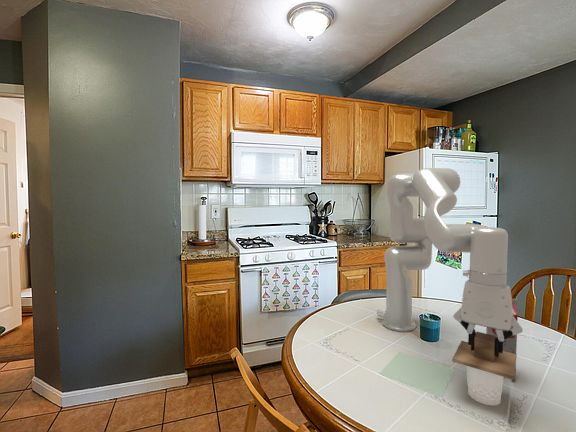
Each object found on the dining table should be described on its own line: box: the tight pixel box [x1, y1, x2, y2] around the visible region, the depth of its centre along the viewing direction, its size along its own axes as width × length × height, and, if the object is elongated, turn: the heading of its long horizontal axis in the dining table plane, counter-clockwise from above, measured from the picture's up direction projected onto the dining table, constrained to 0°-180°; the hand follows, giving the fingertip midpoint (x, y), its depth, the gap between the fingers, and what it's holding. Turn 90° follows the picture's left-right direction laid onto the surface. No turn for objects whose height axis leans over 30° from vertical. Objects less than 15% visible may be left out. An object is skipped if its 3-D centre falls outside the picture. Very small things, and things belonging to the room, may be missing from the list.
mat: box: [378, 351, 455, 398], centre depth 86 cm, size 16×16×1 cm
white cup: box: [466, 366, 505, 406], centre depth 74 cm, size 8×8×10 cm
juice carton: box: [485, 298, 519, 383], centre depth 86 cm, size 7×7×22 cm
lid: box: [451, 331, 518, 380], centre depth 74 cm, size 12×12×6 cm
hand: (485, 350), depth 74 cm, fingers open, 4 cm apart
